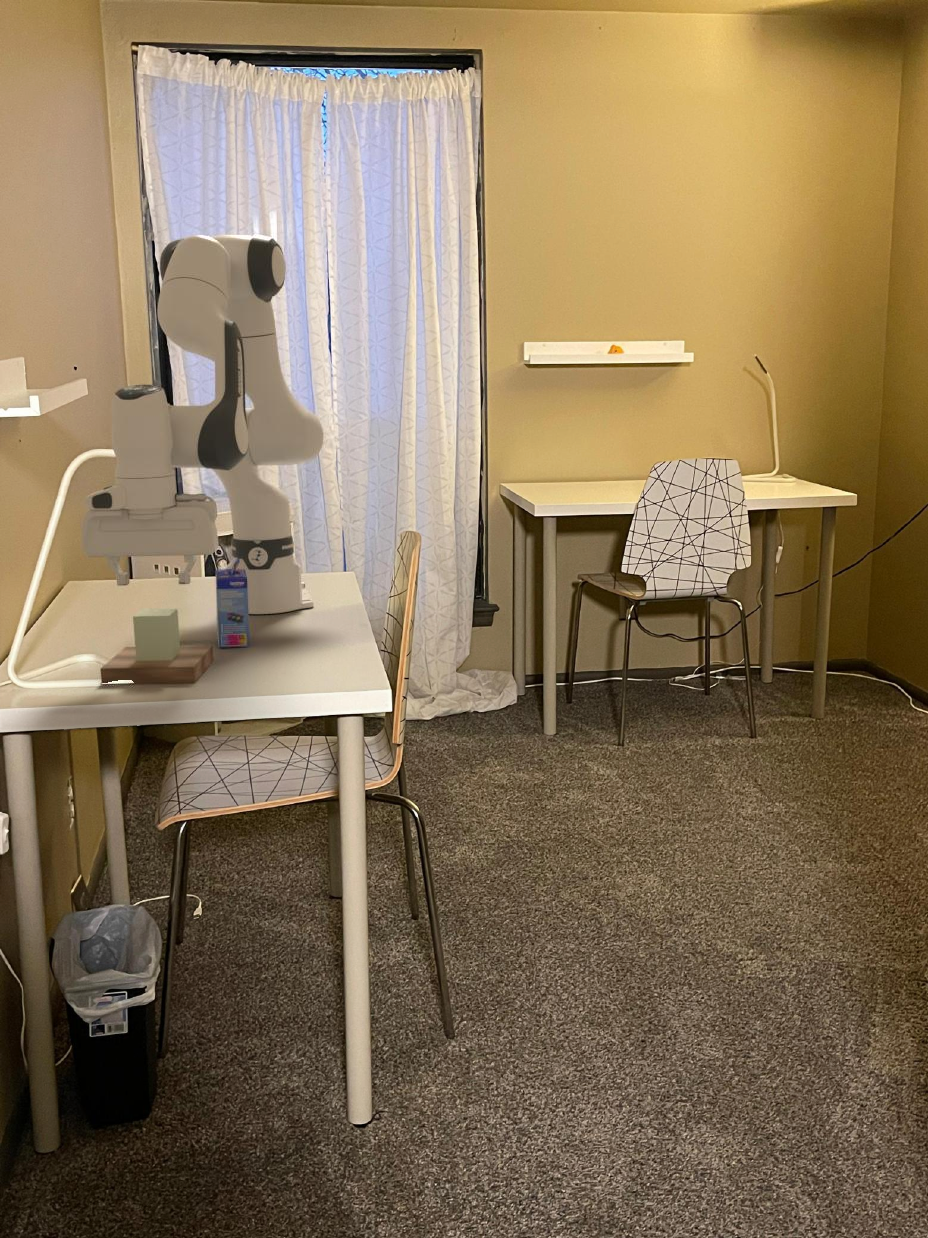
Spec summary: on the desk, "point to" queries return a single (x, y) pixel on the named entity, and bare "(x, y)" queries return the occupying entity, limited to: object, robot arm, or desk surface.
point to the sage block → (156, 634)
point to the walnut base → (159, 666)
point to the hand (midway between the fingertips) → (154, 584)
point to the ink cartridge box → (232, 607)
